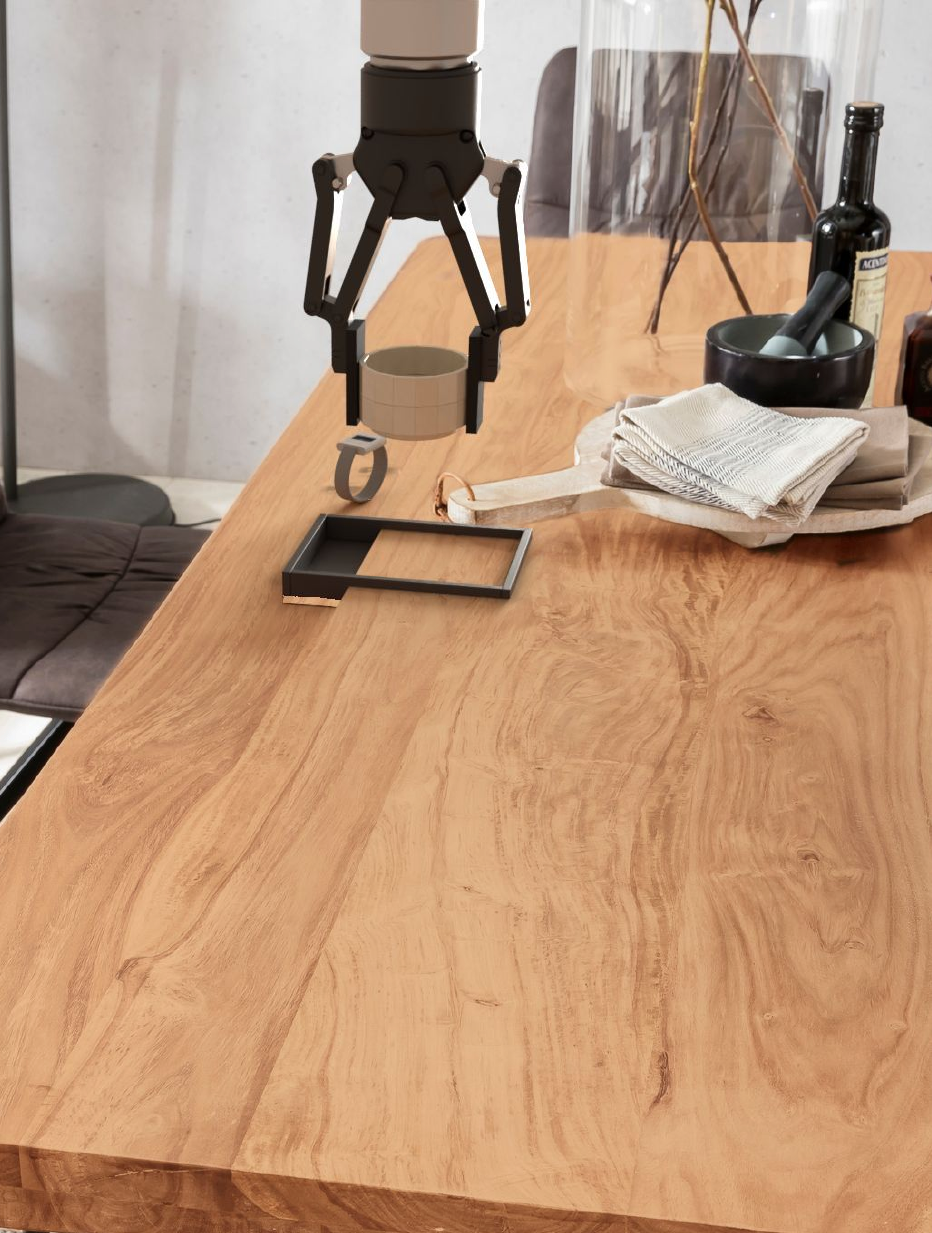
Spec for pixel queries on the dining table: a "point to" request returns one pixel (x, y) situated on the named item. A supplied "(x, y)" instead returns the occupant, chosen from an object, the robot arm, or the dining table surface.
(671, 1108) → the dining table surface
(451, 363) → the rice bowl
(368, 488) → the wristwatch
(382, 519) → the tray frame
